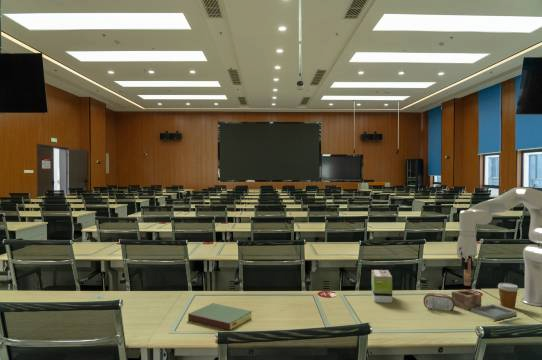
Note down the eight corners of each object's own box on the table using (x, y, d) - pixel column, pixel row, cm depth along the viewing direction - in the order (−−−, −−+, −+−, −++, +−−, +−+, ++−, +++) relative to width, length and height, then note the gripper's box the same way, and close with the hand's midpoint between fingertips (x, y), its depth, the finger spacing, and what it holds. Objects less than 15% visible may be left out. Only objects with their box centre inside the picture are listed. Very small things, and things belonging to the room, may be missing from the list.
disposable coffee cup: (521, 311, 211) (521, 288, 210) (501, 310, 213) (501, 287, 212) (514, 305, 220) (514, 283, 220) (494, 304, 222) (495, 282, 222)
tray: (492, 308, 214) (492, 304, 214) (516, 316, 202) (516, 311, 202) (471, 313, 207) (471, 308, 207) (494, 321, 195) (494, 316, 195)
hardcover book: (188, 321, 196) (188, 313, 195) (212, 310, 212) (212, 303, 212) (230, 332, 183) (230, 323, 183) (253, 319, 199) (253, 311, 199)
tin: (454, 311, 209) (454, 295, 209) (454, 313, 207) (454, 297, 206) (423, 307, 216) (423, 291, 216) (423, 309, 213) (423, 293, 213)
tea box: (371, 294, 239) (371, 269, 239) (388, 295, 238) (388, 269, 237) (373, 302, 224) (374, 275, 224) (392, 303, 223) (393, 276, 223)
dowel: (466, 283, 217) (466, 257, 217) (472, 285, 214) (472, 258, 214) (462, 284, 216) (462, 258, 215) (467, 286, 213) (467, 259, 212)
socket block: (464, 304, 222) (464, 289, 221) (481, 309, 213) (481, 294, 212) (451, 306, 217) (451, 291, 217) (467, 312, 208) (468, 297, 208)
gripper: (471, 231, 221) (471, 265, 222) (450, 234, 214) (450, 269, 214) (484, 233, 214) (484, 268, 215) (462, 236, 207) (462, 272, 208)
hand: (467, 268), depth 215 cm, fingers closed on dowel, 3 cm apart
